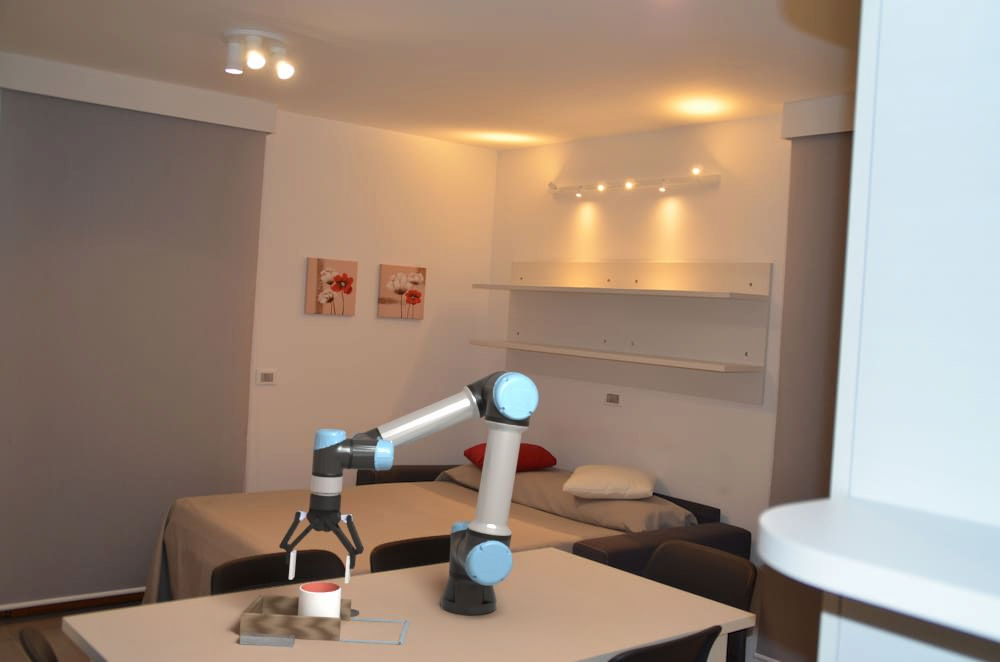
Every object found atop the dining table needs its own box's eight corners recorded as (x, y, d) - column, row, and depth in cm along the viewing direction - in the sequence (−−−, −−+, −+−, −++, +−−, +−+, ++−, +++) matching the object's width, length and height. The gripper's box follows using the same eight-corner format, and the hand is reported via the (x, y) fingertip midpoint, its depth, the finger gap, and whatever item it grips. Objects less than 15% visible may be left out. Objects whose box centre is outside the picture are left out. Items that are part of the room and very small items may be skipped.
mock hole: (360, 610, 227) (361, 609, 227) (357, 617, 221) (357, 616, 221) (338, 609, 227) (338, 608, 227) (333, 616, 221) (333, 615, 221)
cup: (329, 637, 205) (331, 594, 206) (290, 632, 207) (292, 590, 207) (345, 624, 215) (347, 584, 215) (307, 620, 217) (309, 580, 217)
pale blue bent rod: (409, 621, 220) (409, 620, 220) (402, 644, 203) (402, 643, 203) (352, 618, 220) (352, 617, 220) (340, 641, 203) (340, 640, 203)
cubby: (350, 619, 219) (351, 599, 220) (338, 640, 203) (339, 619, 203) (258, 614, 219) (259, 594, 219) (239, 635, 203) (241, 614, 203)
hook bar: (296, 641, 201) (296, 632, 201) (292, 647, 197) (292, 638, 197) (244, 638, 201) (245, 629, 201) (239, 644, 197) (240, 635, 197)
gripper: (378, 493, 216) (372, 579, 215) (278, 486, 216) (272, 572, 215) (374, 498, 208) (368, 587, 208) (271, 491, 208) (264, 580, 208)
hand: (319, 580), depth 211 cm, fingers open, 13 cm apart
